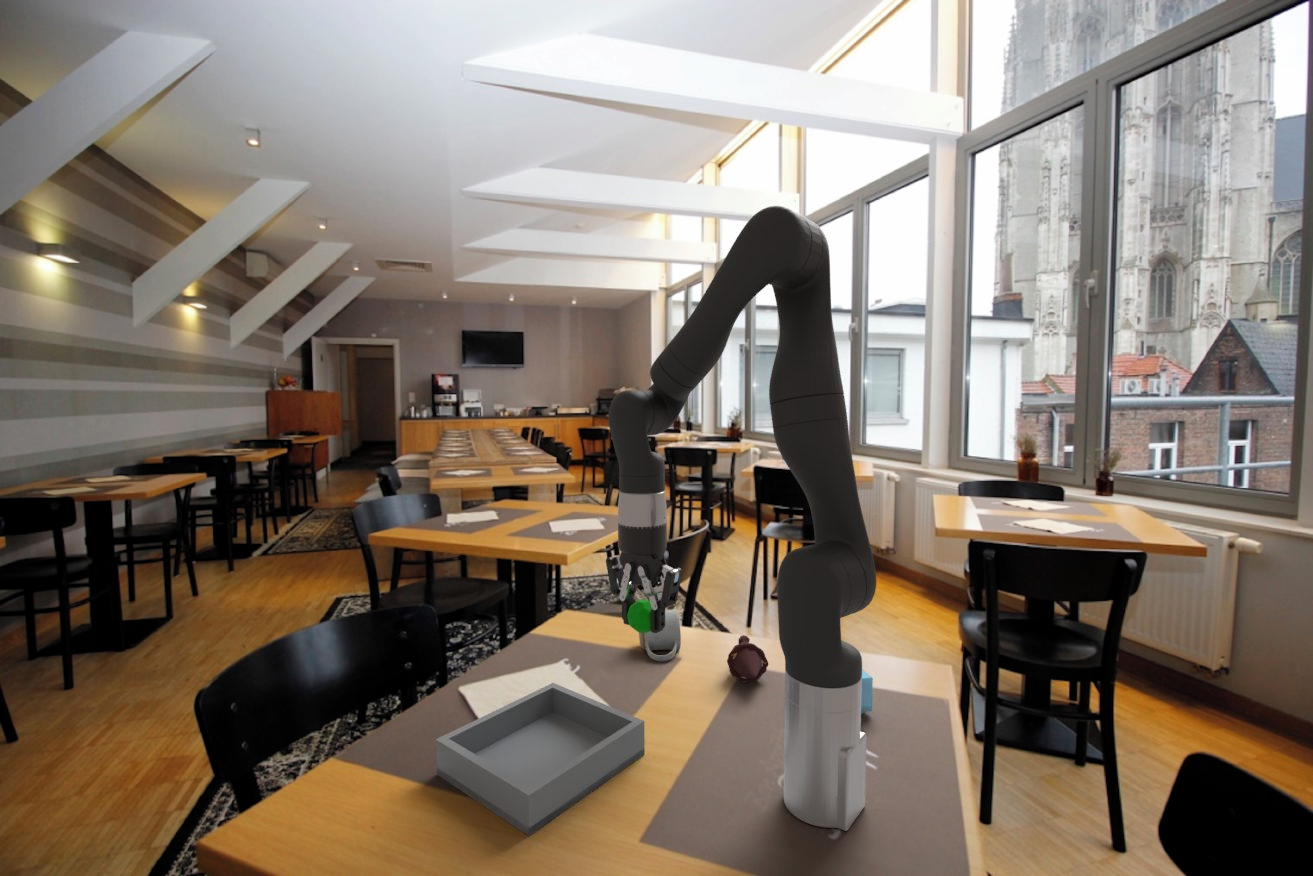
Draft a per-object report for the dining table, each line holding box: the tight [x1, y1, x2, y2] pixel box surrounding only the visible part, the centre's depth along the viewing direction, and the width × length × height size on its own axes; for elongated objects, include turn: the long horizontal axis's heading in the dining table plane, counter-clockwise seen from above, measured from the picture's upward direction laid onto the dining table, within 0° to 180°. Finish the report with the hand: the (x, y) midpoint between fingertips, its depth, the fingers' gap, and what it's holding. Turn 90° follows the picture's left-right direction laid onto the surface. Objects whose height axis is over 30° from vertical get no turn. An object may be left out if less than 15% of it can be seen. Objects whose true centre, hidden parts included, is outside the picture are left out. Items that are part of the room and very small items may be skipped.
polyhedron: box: [627, 599, 652, 633], centre depth 98 cm, size 5×5×5 cm
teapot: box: [861, 668, 874, 715], centre depth 105 cm, size 12×6×8 cm, turn 11°
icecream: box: [726, 634, 769, 682], centre depth 114 cm, size 7×7×15 cm
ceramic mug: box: [638, 609, 682, 662], centre depth 126 cm, size 11×8×8 cm
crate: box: [435, 682, 646, 837], centre depth 88 cm, size 19×21×5 cm
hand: (643, 626), depth 98 cm, fingers closed on polyhedron, 5 cm apart
